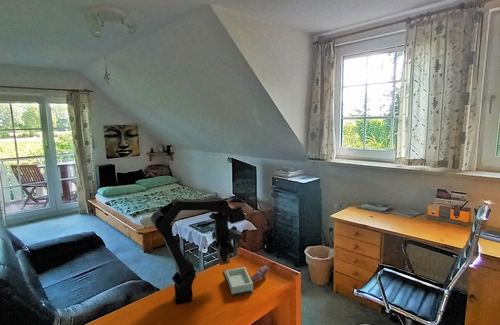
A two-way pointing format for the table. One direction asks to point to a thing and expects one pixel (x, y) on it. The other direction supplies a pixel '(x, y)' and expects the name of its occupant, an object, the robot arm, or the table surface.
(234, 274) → the pale green tray
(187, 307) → the table surface
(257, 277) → the sweet potato
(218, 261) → the walnut block
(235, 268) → the track
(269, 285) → the table surface
